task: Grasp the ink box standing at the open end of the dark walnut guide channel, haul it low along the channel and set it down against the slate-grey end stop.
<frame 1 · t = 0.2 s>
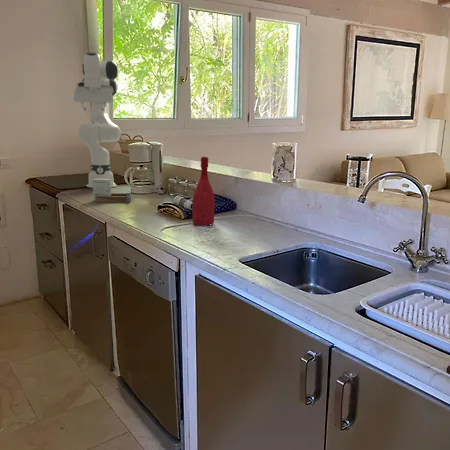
hand: (94, 111, 251), 47 cm above the worktop, fingers open, 8 cm apart
ink box: (102, 200, 251), on the worktop
guide channel: (111, 200, 252), on the worktop
wine bottle: (203, 224, 207), on the worktop
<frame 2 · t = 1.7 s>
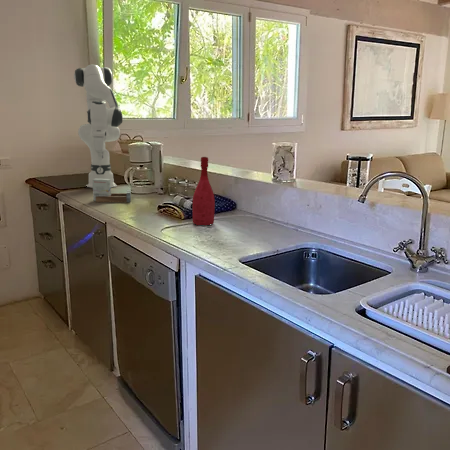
hand: (101, 159, 246), 22 cm above the worktop, fingers open, 8 cm apart
nothing on the worktop moved.
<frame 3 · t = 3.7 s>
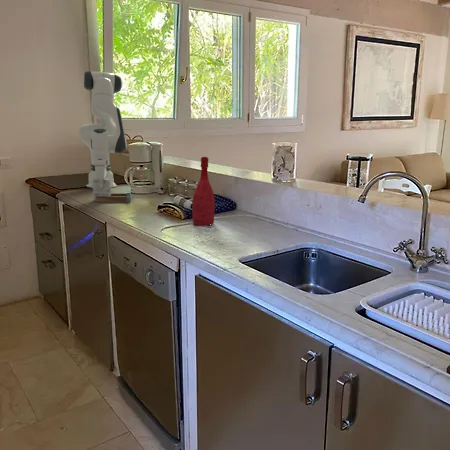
hand: (102, 186, 249), 8 cm above the worktop, fingers closed on ink box, 5 cm apart
ink box: (102, 200, 251), on the worktop, touching gripper
everything else where it was.
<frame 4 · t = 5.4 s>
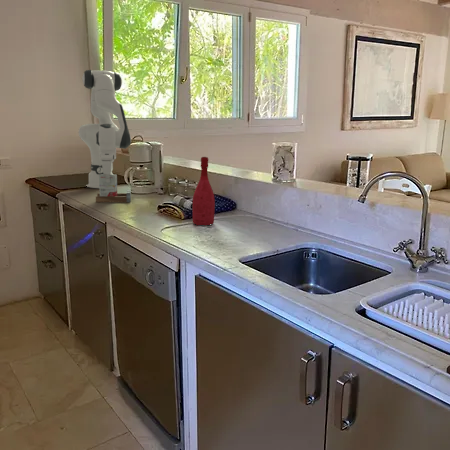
hand: (108, 181, 249), 11 cm above the worktop, fingers closed on ink box, 5 cm apart
ink box: (108, 196, 251), point 2 cm above the worktop, touching gripper
everything else where it was.
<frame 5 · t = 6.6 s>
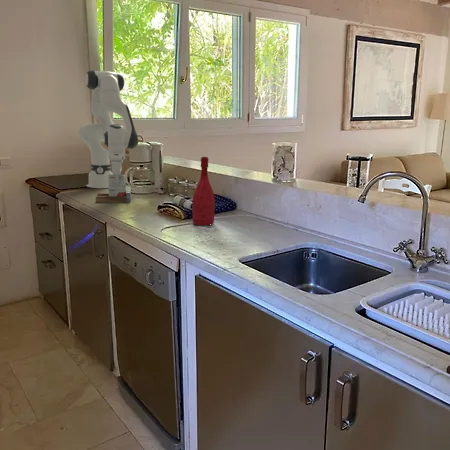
hand: (117, 181, 250), 10 cm above the worktop, fingers closed on ink box, 5 cm apart
ink box: (117, 196, 252), point 2 cm above the worktop, touching gripper
everything else where it was.
when the fingers open (8 cm above the worktop, at t = 7.4 s): ink box stays where it is, on the worktop.
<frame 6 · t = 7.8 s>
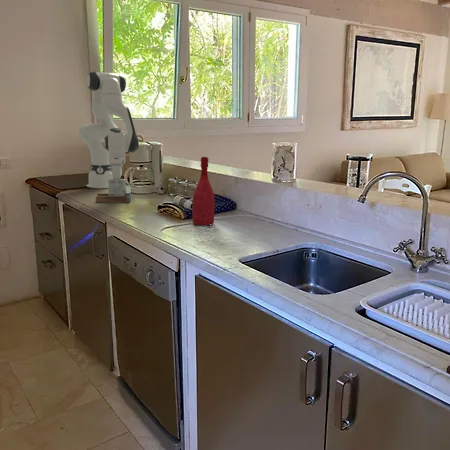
hand: (117, 185, 251), 8 cm above the worktop, fingers open, 8 cm apart
ink box: (117, 200, 252), on the worktop
everything else where it was.
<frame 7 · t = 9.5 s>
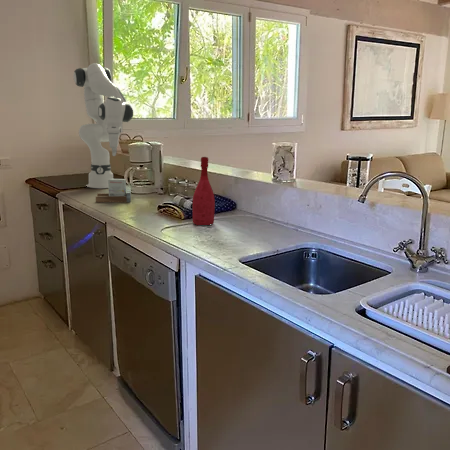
hand: (114, 154, 250), 24 cm above the worktop, fingers open, 8 cm apart
nothing on the worktop moved.
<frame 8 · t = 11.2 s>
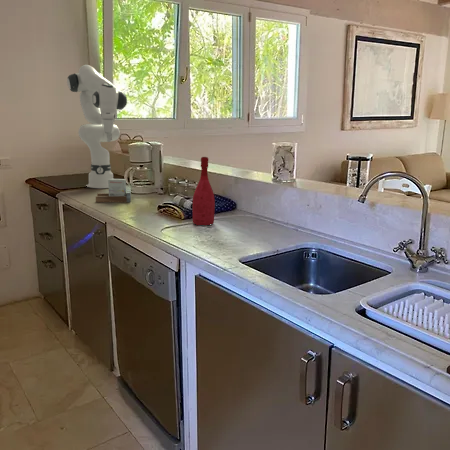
hand: (109, 141, 254), 31 cm above the worktop, fingers open, 8 cm apart
nothing on the worktop moved.
at the end: ink box 0.5 cm from the target spot, on the worktop; ink box tilted 0°; the gripper is holding nothing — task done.
